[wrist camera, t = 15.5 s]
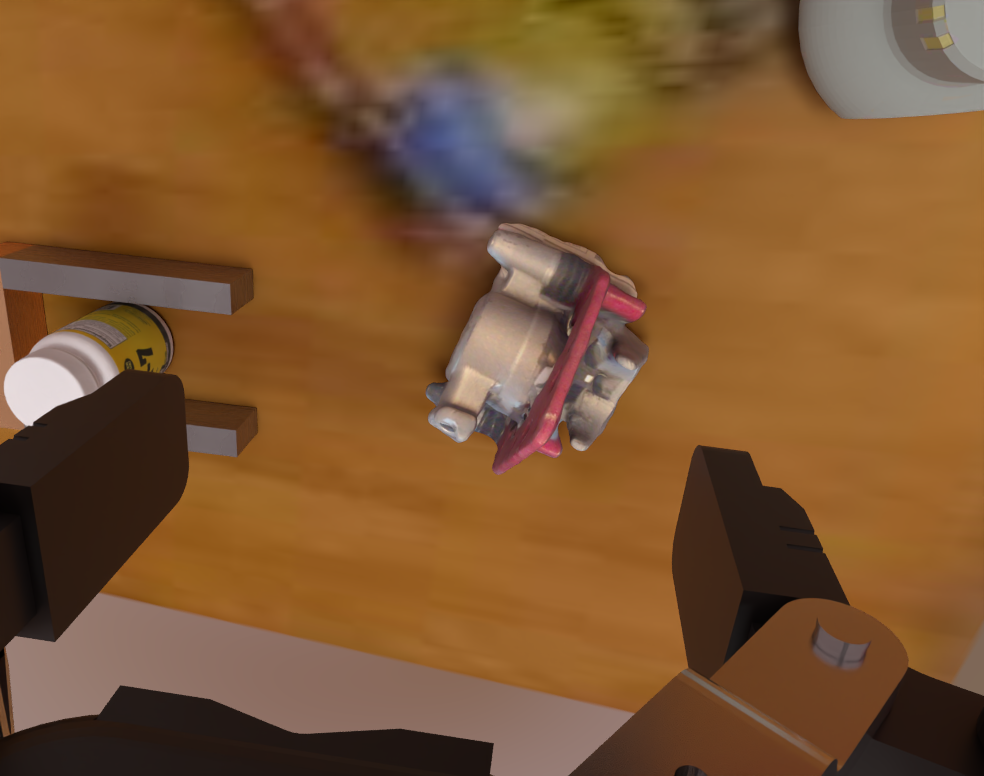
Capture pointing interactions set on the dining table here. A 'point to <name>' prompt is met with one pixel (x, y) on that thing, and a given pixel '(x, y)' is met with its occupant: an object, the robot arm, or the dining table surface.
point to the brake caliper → (541, 350)
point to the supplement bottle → (87, 358)
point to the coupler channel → (131, 279)
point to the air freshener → (894, 56)
